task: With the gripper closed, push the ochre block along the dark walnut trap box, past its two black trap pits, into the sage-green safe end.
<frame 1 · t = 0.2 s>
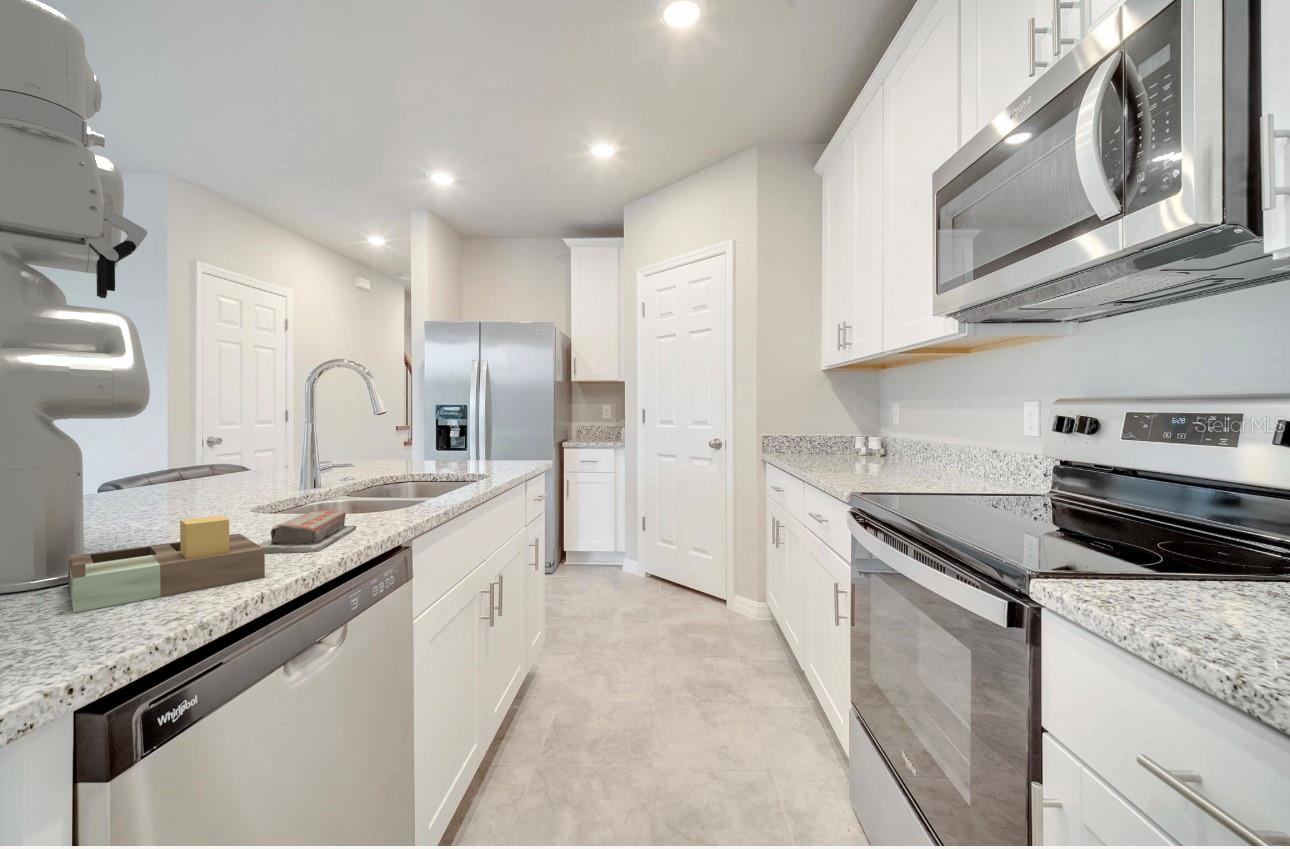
hand: (38, 288, 58), 36 cm above the countertop, tool pointing down, fingers open, 9 cm apart
packaged product: (309, 544, 98), on the countertop
trap box: (169, 581, 74), on the countertop
ochre block: (205, 552, 74), point 4 cm above the countertop, touching trap box
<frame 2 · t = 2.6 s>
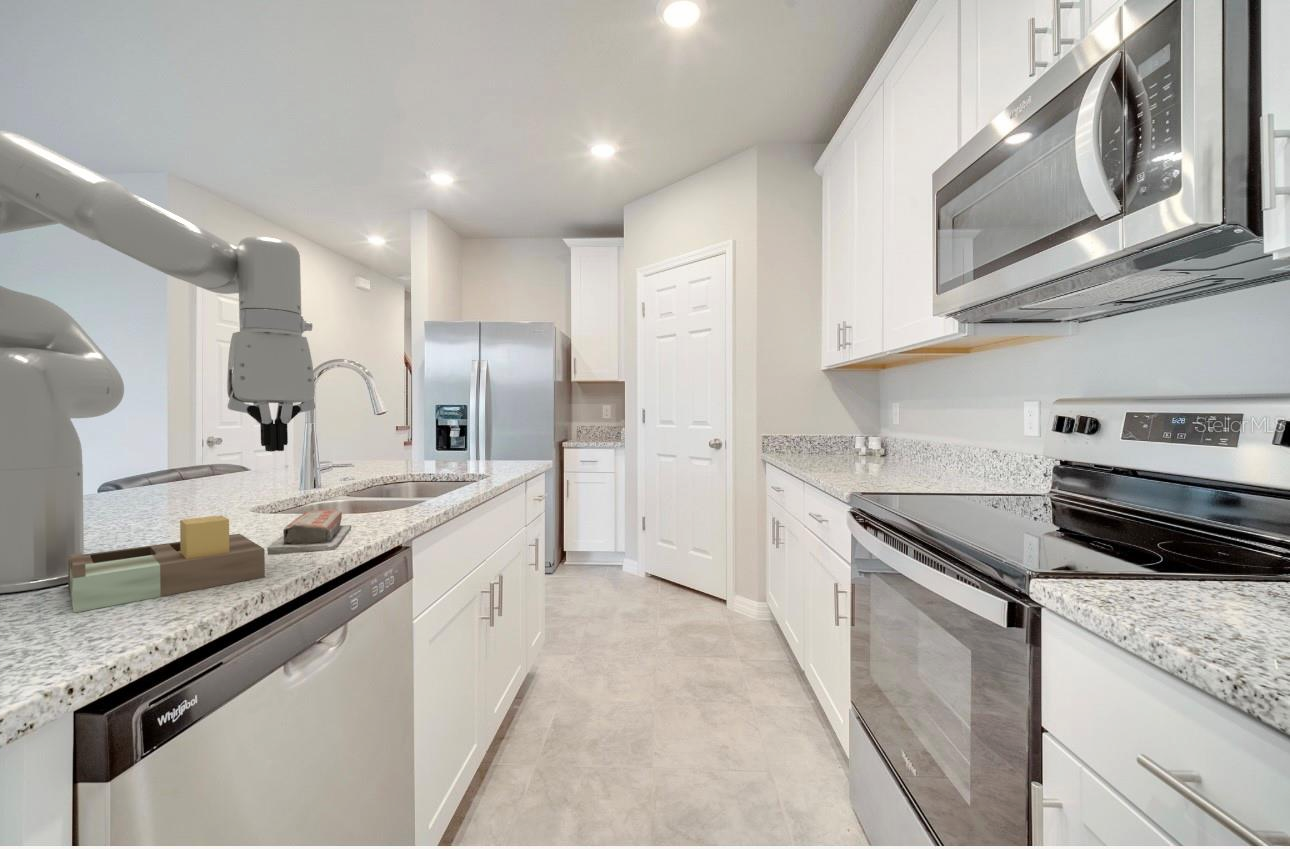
hand: (274, 450, 79), 18 cm above the countertop, tool pointing down, fingers closed
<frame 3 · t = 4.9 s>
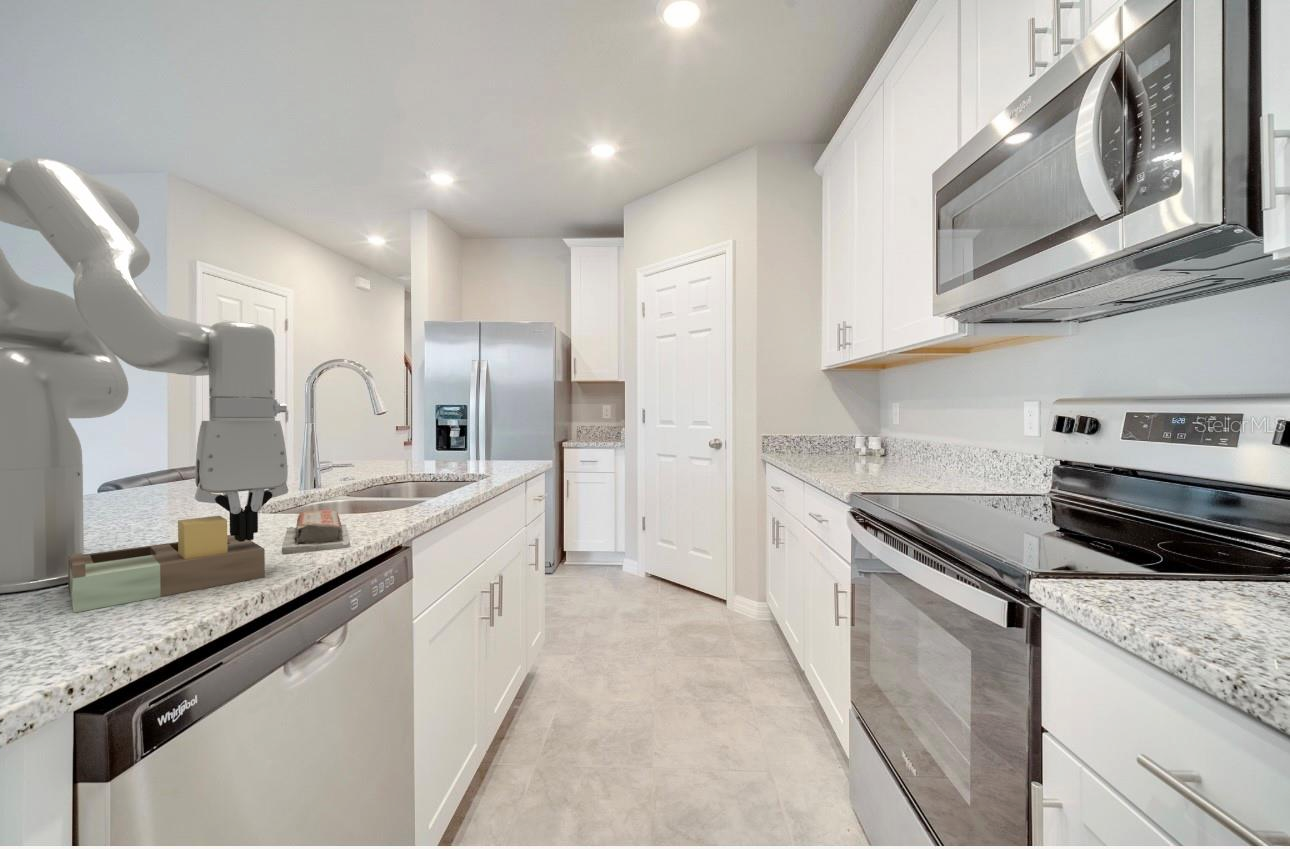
hand: (243, 539, 77), 5 cm above the countertop, tool pointing down, fingers closed
ochre block: (203, 552, 73), point 4 cm above the countertop, touching gripper
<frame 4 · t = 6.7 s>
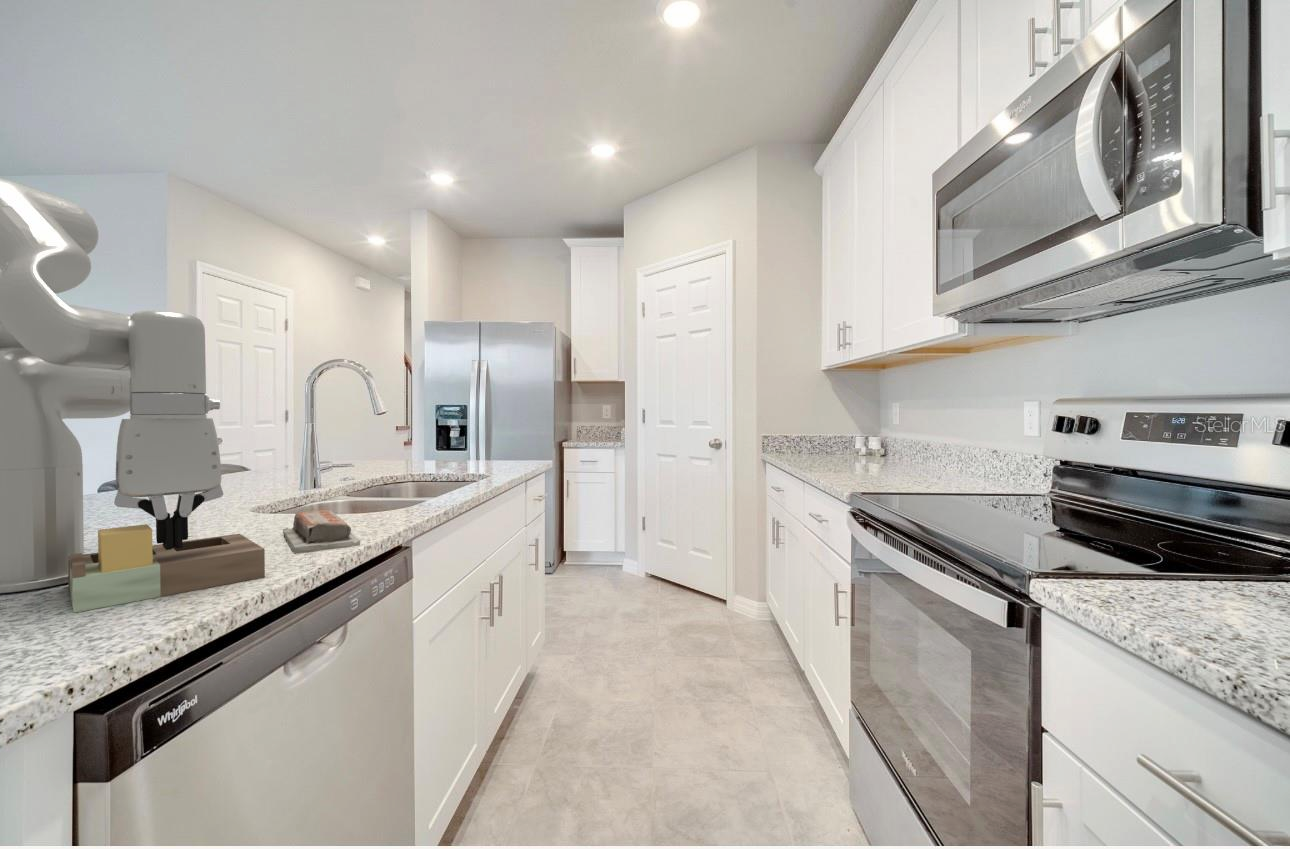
hand: (172, 547, 71), 5 cm above the countertop, tool pointing down, fingers closed
ochre block: (125, 565, 67), point 4 cm above the countertop, touching gripper, trap box
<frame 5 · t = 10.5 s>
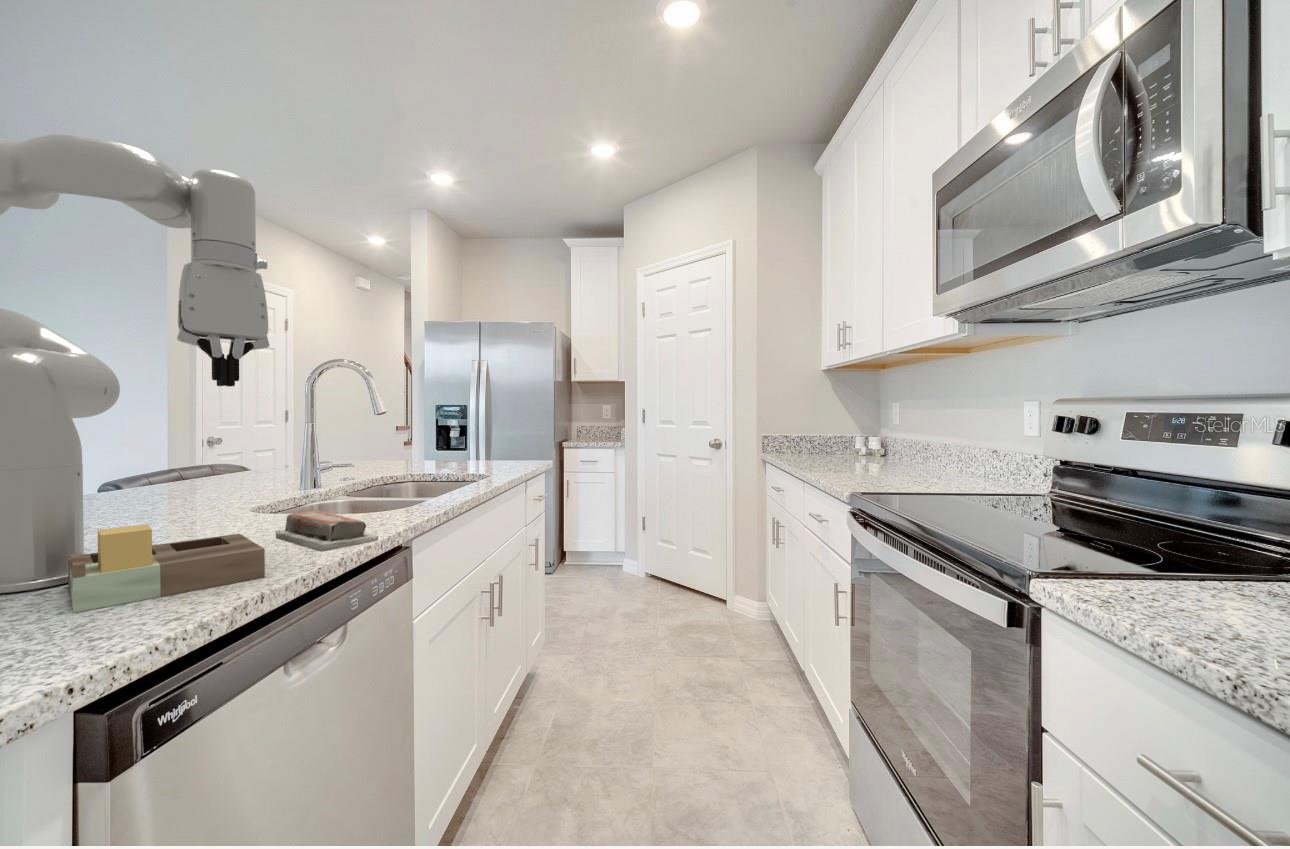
hand: (225, 385, 79), 27 cm above the countertop, tool pointing down, fingers closed
ochre block: (125, 565, 67), point 4 cm above the countertop, touching trap box
at the end: ochre block 0.7 cm from the target spot, point 4.0 cm above the countertop; ochre block tilted 0°; ochre block moved 8.0 cm from its start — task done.
